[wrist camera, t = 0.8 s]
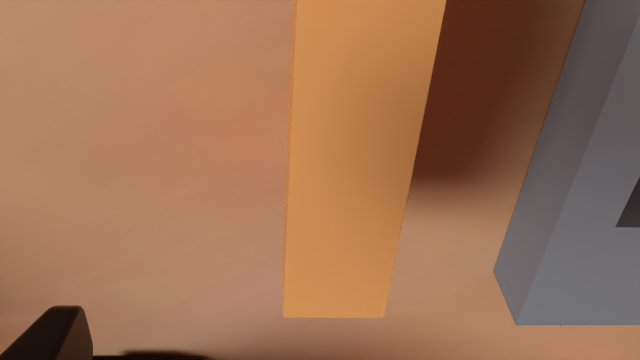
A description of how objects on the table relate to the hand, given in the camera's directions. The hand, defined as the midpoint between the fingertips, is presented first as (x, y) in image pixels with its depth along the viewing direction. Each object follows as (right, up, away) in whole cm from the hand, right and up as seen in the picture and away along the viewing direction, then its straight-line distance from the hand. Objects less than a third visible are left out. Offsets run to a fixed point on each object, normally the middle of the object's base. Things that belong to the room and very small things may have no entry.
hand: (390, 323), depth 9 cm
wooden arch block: (-1, +7, +10) cm, 12 cm away
